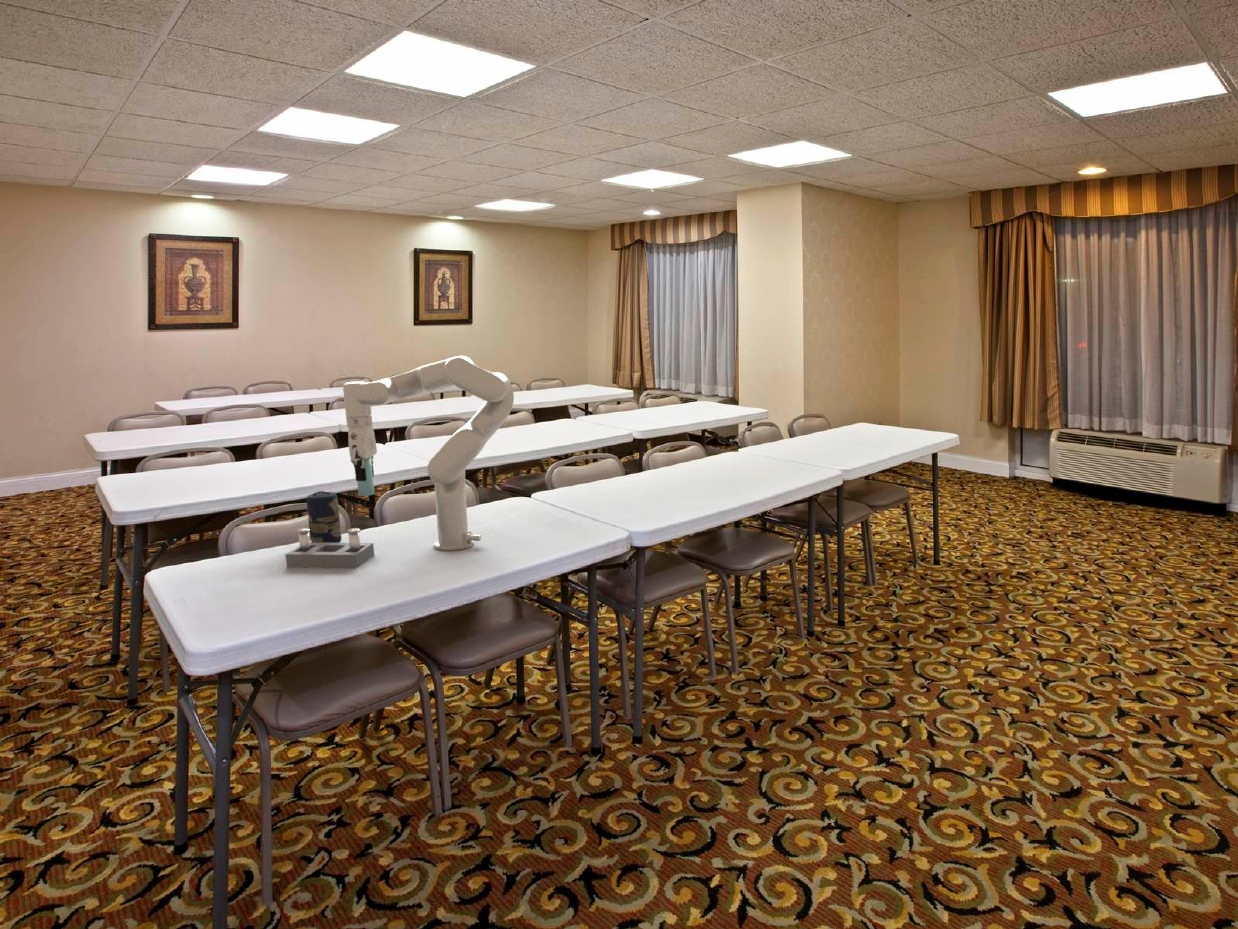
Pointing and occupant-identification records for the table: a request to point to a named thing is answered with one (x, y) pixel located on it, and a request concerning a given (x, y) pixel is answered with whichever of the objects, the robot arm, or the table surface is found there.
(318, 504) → the canister
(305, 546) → the plunger
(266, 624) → the table surface
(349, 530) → the plunger
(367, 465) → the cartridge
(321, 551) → the housing
